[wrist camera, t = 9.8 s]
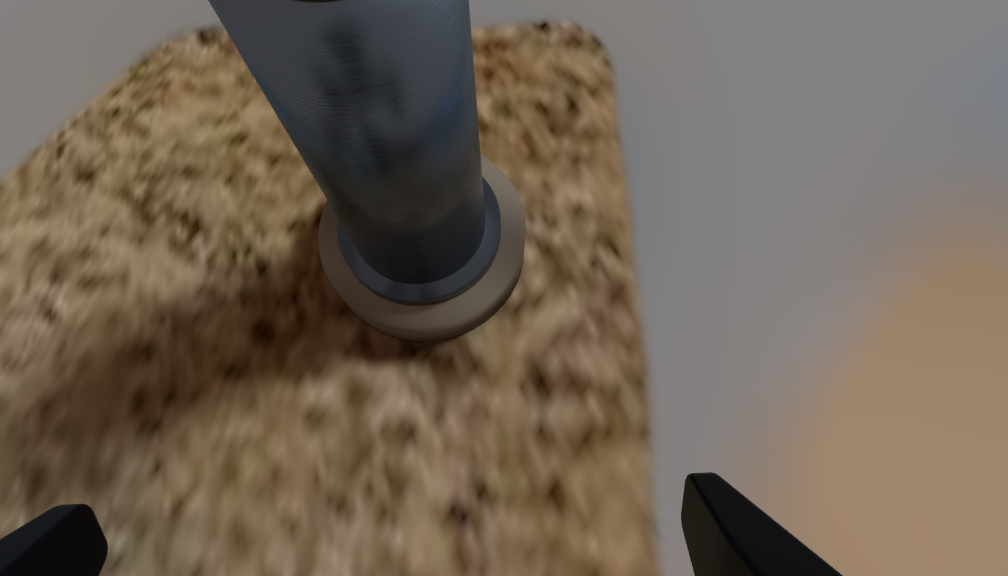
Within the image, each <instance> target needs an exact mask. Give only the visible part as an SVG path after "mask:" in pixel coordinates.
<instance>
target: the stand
mask: <svg viewBox="0 0 1008 576" xmlns="http://www.w3.org/2000/svg"><path fill="white" fill-rule="evenodd" d="M480 155H481V154H480ZM481 168H482V177H483V178H484V179H485V180H486V181H487V183H488V184H489V185H490V187H491V188H492V190H493V192H494V194H495V196H496V199H497V202H498V205H499V210H500V217H501V238H500V244H499V248H498V252H497V254H496V257H495V259H494V261H493V263H492V265H491V267H490V268H489V270H488V271H487V272H486V274H485V275H484V276H483V278H482V279H481V280H480V281H479V282H477V283H476V284H475V285H474V286H473V287H472V288H470V289H469V290H468V291H466V292H465V293H463V294H461V295H459V296H458V297H455V298H453V299H451V300H448V301H445V302H442V303H438V304H433V305H427V306H409V305H402V304H397V303H393V302H391V301H388V300H385V299H383V298H381V297H379V296H377V295H375V294H374V293H372V292H371V291H370V290H368V289H367V288H366V287H365V286H364V285H363V284H362V283H360V282H359V280H358V279H357V278H356V276H355V275H354V274H353V272H352V271H351V269H350V268H349V267H348V265H347V263H346V261H345V260H344V258H343V255H342V253H341V250H340V247H339V242H338V235H337V225H338V217H337V215H336V213H335V212H334V210H333V208H332V207H331V205H330V203H329V202H328V200H327V202H326V204H325V207H324V209H323V212H322V215H321V219H320V224H319V232H318V246H319V254H320V258H321V263H322V266H323V268H324V271H325V273H326V276H327V277H328V279H329V281H330V283H331V284H332V286H333V287H334V289H335V290H336V291H337V292H338V294H339V295H340V296H341V297H342V299H343V300H344V301H345V302H346V303H347V305H348V306H349V307H350V308H351V310H352V311H353V312H354V313H355V314H356V315H357V316H358V317H359V318H360V319H361V320H362V321H364V322H365V323H367V324H368V325H370V326H371V327H372V328H374V329H376V330H378V331H380V332H382V333H384V334H387V335H390V336H392V337H395V338H399V339H404V340H409V341H422V342H423V341H438V340H443V339H449V338H452V337H455V336H458V335H461V334H464V333H466V332H468V331H470V330H472V329H474V328H476V327H478V326H479V325H481V324H482V323H484V322H486V321H487V320H488V319H489V318H490V317H492V316H493V315H494V314H495V313H496V312H497V311H498V310H499V309H500V308H501V307H502V306H503V305H504V304H505V302H506V301H507V299H508V298H509V297H510V295H511V294H512V292H513V290H514V288H515V286H516V284H517V282H518V279H519V276H520V274H521V270H522V265H523V260H524V246H525V230H526V227H525V216H524V212H523V207H522V204H521V201H520V198H519V196H518V193H517V192H516V190H515V188H514V186H513V184H512V183H511V182H510V180H509V179H508V178H507V176H506V175H505V174H504V173H503V172H502V171H501V170H500V169H499V168H498V167H497V166H496V165H495V164H494V163H492V162H491V161H490V160H489V159H487V158H486V157H484V156H482V155H481Z"/></svg>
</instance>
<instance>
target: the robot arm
mask: <svg viewBox="0 0 1008 576" xmlns="http://www.w3.org/2000/svg"><path fill="white" fill-rule="evenodd" d="M681 521H682V528H683V532H684V536H685V540H686V544H687V548H688V551H689V555H690V559H691V562H692V566H693V570H694V574H695V576H843V575H841V574H840V573H839V572H838V571H836V570H835V569H834V568H833V567H831V566H830V565H829V564H828V563H826V562H825V561H824V560H823V559H822V558H820V557H819V556H818V555H817V554H815V553H814V552H813V551H812V550H810V549H809V548H808V547H807V546H805V545H804V544H803V543H802V542H800V541H799V540H798V539H797V538H795V537H794V536H793V535H792V534H791V533H789V532H788V531H787V530H786V529H784V528H783V527H782V526H781V525H779V524H778V523H777V522H776V521H774V520H773V519H772V518H771V517H770V516H768V515H767V514H766V513H764V512H763V511H762V510H761V509H760V508H758V507H757V506H756V505H755V504H753V503H752V502H751V501H750V500H748V499H747V498H746V497H745V496H744V495H742V494H741V493H740V492H739V491H737V490H736V489H735V488H733V487H732V486H731V485H730V484H729V483H727V482H726V481H725V480H724V479H722V478H721V477H720V476H719V475H717V474H715V473H711V472H710V473H692V474H689V475H688V476H687V478H686V480H685V487H684V495H683V503H682V511H681ZM107 551H108V545H107V541H106V538H105V536H104V534H103V531H102V529H101V527H100V525H99V523H98V520H97V518H96V516H95V514H94V511H93V510H92V508H91V507H89V506H88V505H85V504H70V505H59V506H56V507H53V508H51V509H50V510H48V511H46V512H45V513H43V514H42V515H40V516H38V517H37V518H35V519H33V520H32V521H30V522H28V523H27V524H25V525H23V526H22V527H20V528H18V529H17V530H15V531H13V532H12V533H10V534H9V535H7V536H5V537H4V538H2V539H0V576H99V574H100V572H101V569H102V567H103V565H104V563H105V560H106V557H107Z"/></svg>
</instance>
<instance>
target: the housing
mask: <svg viewBox="0 0 1008 576" xmlns="http://www.w3.org/2000/svg"><path fill="white" fill-rule="evenodd" d="M209 2H210V4H211V6H212V7H213V9H214V10H215V12H216V14H217V15H218V17H219V19H220V21H221V22H222V24H223V26H224V27H225V29H226V31H227V32H228V34H229V36H230V37H231V39H232V41H233V42H234V44H235V46H236V47H237V49H238V51H239V52H240V54H241V56H242V58H243V59H244V61H245V63H246V64H247V66H248V68H249V69H250V71H251V73H252V74H253V76H254V78H255V79H256V81H257V83H258V84H259V86H260V88H261V89H262V91H263V93H264V94H265V96H266V98H267V99H268V101H269V103H270V104H271V106H272V108H273V110H274V111H275V113H276V115H277V116H278V118H279V120H280V121H281V123H282V125H283V126H284V128H285V130H286V131H287V133H288V135H289V136H290V138H291V140H292V141H293V143H294V145H295V146H296V148H297V150H298V151H299V153H300V155H301V156H302V158H303V160H304V162H305V163H306V165H307V167H308V168H309V170H310V172H311V173H312V175H313V177H314V178H315V180H316V182H317V183H318V185H319V187H320V188H321V190H322V192H323V193H324V195H325V197H326V198H327V200H328V202H329V203H330V205H331V207H332V208H333V210H334V212H335V213H336V215H337V217H338V225H337V235H338V242H339V247H340V250H341V253H342V255H343V258H344V260H345V261H346V263H347V265H348V267H349V268H350V269H351V271H352V272H353V274H354V275H355V276H356V278H357V279H358V280H359V282H360V283H362V284H363V285H364V286H365V287H366V288H367V289H368V290H370V291H371V292H372V293H374V294H375V295H377V296H379V297H381V298H383V299H385V300H388V301H391V302H393V303H397V304H402V305H409V306H427V305H433V304H438V303H442V302H445V301H448V300H451V299H453V298H455V297H458V296H459V295H461V294H463V293H465V292H466V291H468V290H469V289H470V288H472V287H473V286H474V285H475V284H476V283H477V282H479V281H480V280H481V279H482V278H483V276H484V275H485V274H486V272H487V271H488V270H489V268H490V267H491V265H492V263H493V261H494V259H495V257H496V254H497V252H498V248H499V244H500V238H501V217H500V210H499V205H498V202H497V199H496V196H495V194H494V192H493V190H492V188H491V187H490V185H489V184H488V183H487V181H486V180H485V179H484V178H483V177H482V168H481V155H480V142H479V129H478V116H477V103H476V90H475V77H474V64H473V51H472V39H471V26H470V13H469V0H209Z"/></svg>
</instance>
